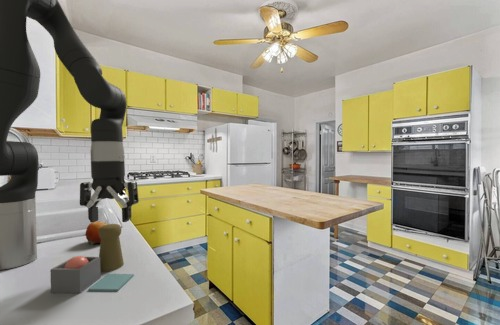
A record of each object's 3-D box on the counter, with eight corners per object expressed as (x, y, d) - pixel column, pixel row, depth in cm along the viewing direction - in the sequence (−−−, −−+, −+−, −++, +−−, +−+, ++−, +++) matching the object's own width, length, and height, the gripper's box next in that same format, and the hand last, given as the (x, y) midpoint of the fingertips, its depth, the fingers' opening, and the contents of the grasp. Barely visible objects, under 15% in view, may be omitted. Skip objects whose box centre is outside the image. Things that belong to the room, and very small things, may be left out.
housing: (51, 292, 50) (50, 269, 50) (74, 277, 56) (74, 256, 56) (80, 293, 50) (79, 269, 50) (100, 277, 56) (100, 256, 56)
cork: (111, 272, 58) (110, 229, 58) (91, 270, 60) (90, 227, 59) (128, 262, 64) (128, 222, 64) (110, 260, 65) (109, 221, 65)
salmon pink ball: (58, 285, 51) (57, 261, 51) (75, 274, 55) (74, 252, 55) (79, 285, 51) (78, 261, 50) (94, 275, 55) (93, 252, 55)
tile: (88, 290, 51) (88, 288, 51) (107, 275, 57) (107, 273, 57) (117, 291, 50) (117, 289, 50) (133, 275, 57) (133, 274, 57)
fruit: (74, 240, 77) (88, 217, 81) (97, 246, 83) (109, 224, 86) (85, 245, 73) (99, 220, 76) (108, 251, 78) (120, 227, 82)
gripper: (70, 160, 58) (72, 226, 58) (126, 159, 57) (128, 225, 57) (91, 160, 65) (93, 218, 65) (142, 159, 65) (143, 217, 65)
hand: (110, 221), depth 61 cm, fingers open, 8 cm apart
